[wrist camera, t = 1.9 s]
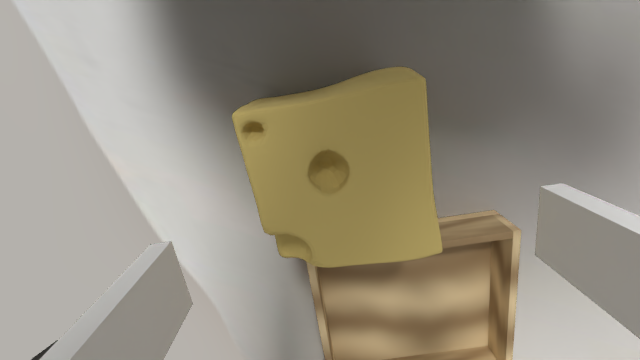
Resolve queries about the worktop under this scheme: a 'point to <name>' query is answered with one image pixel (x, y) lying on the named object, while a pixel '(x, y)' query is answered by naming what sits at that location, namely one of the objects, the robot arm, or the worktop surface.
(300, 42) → the worktop surface
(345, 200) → the cheese
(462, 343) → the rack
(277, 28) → the worktop surface
